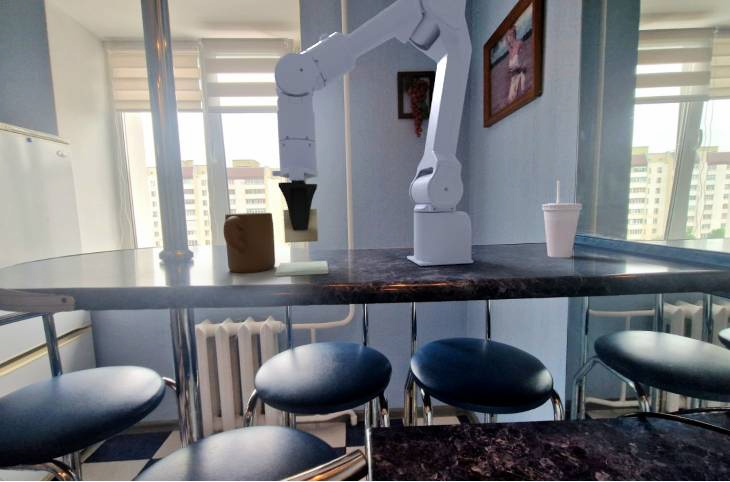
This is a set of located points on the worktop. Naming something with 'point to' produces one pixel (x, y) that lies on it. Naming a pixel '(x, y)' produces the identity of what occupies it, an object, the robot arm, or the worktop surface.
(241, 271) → the mug
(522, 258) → the worktop surface
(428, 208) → the robot arm
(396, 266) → the worktop surface
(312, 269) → the coaster
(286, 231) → the oak block
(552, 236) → the smoothie
